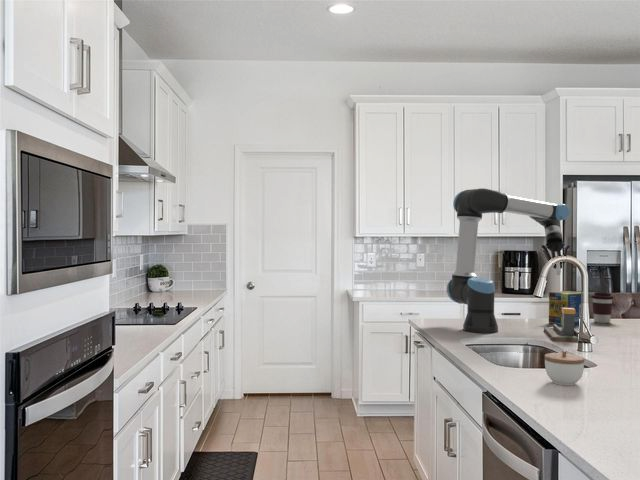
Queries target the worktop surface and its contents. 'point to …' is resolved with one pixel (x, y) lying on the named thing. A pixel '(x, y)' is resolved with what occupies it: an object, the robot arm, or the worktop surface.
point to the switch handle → (568, 321)
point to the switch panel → (560, 334)
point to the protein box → (563, 305)
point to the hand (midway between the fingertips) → (558, 272)
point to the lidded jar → (564, 368)
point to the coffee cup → (602, 306)
